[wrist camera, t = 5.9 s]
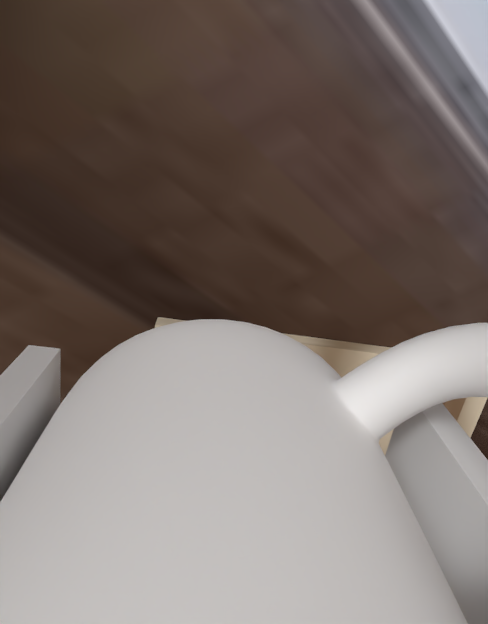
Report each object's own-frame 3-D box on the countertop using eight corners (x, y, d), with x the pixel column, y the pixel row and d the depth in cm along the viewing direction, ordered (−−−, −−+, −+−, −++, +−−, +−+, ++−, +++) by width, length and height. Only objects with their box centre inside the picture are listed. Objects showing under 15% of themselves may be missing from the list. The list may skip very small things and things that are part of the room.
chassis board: (135, 549, 35) (129, 578, 33) (157, 317, 28) (152, 333, 26) (402, 571, 37) (413, 599, 35) (489, 360, 30) (510, 379, 28)
